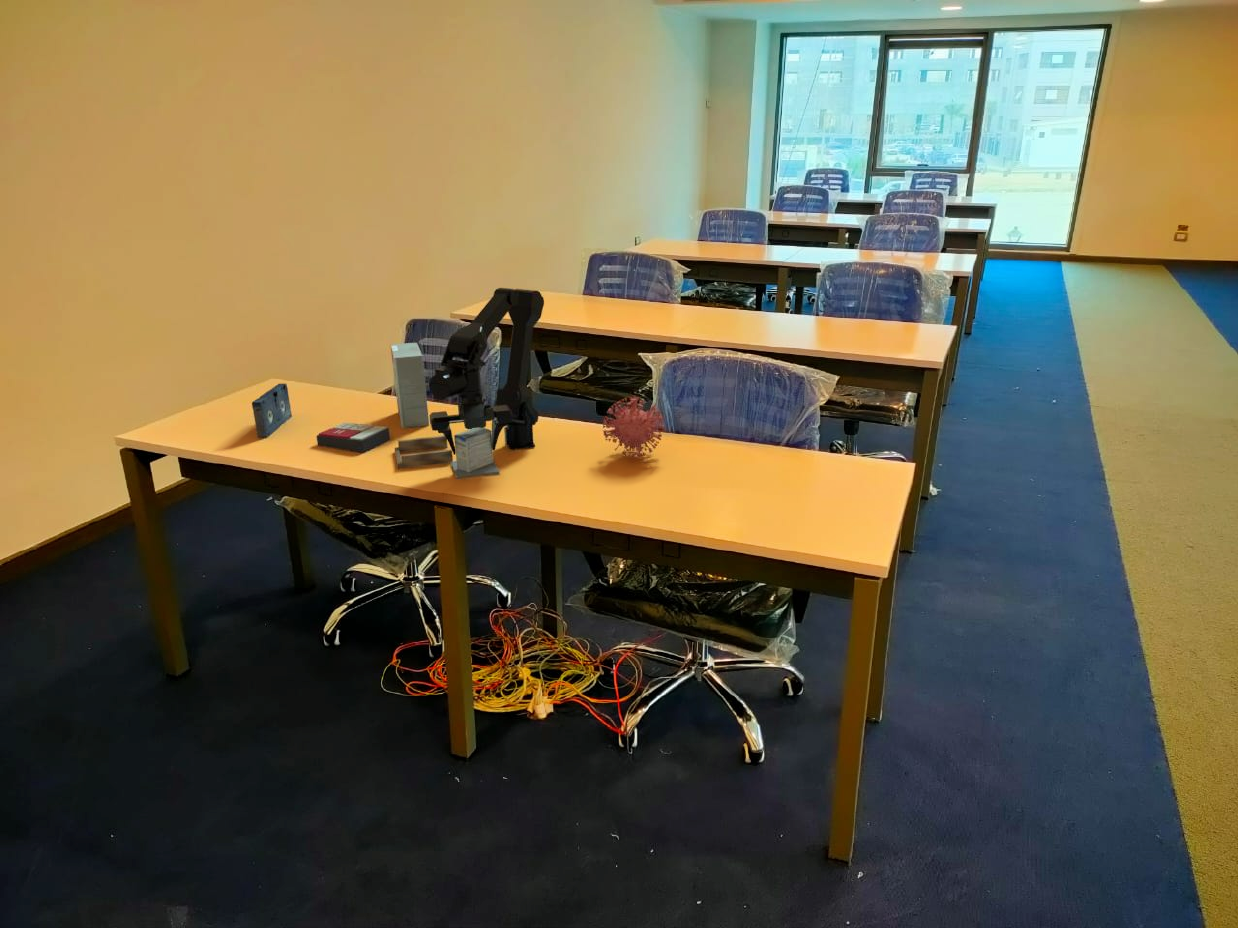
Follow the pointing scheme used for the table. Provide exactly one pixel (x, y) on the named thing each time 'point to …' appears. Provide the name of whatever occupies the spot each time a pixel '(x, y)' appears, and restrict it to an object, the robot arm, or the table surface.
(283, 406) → the vhs cassette tape
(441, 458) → the wooden rack
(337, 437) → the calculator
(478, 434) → the medicine box
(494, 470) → the rubber mat
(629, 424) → the virus model
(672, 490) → the table surface
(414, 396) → the hard drive box
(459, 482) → the table surface
